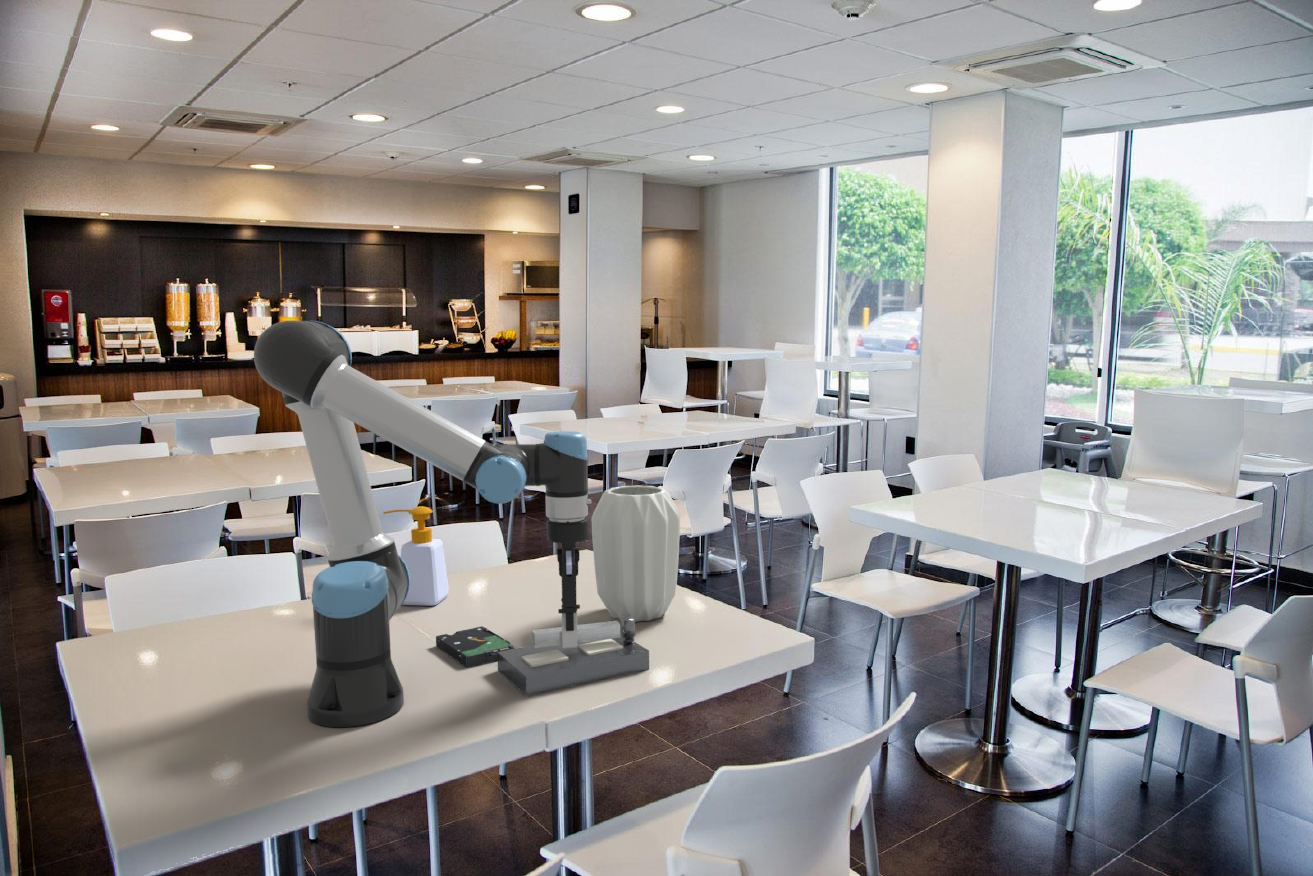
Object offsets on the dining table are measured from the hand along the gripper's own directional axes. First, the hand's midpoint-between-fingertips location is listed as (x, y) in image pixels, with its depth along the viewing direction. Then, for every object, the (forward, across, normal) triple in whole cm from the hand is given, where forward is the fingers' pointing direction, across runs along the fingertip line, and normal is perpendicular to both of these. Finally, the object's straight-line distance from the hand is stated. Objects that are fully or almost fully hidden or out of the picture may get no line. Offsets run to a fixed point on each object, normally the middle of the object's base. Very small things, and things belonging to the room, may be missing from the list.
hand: (569, 646), depth 165 cm
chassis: (+5, +1, -1) cm, 5 cm away
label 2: (+1, +2, -6) cm, 6 cm away
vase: (+5, +32, -16) cm, 36 cm away
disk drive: (+5, +14, +18) cm, 24 cm away
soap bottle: (+4, +50, +35) cm, 61 cm away
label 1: (+1, -2, +5) cm, 5 cm away
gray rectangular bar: (0, +3, -3) cm, 4 cm away
